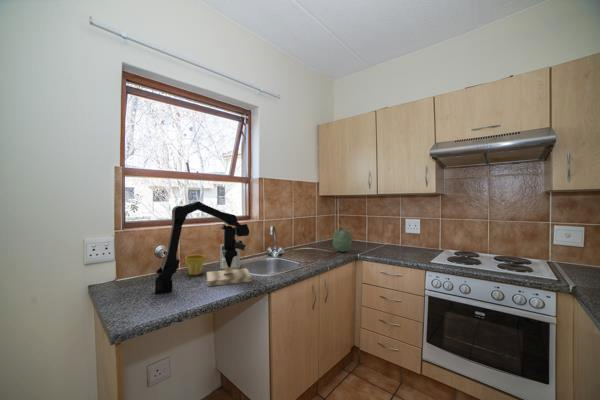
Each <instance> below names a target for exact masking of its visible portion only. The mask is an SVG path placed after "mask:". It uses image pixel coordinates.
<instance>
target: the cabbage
mask: <svg viewBox="0 0 600 400" xmlns="http://www.w3.org/2000/svg"><path fill="white" fill-rule="evenodd" d="M352 244H353V235H352V234H351V232H349V229H348V228H345V229H344V228H342V229H341V228H338V229H335V231H334V233H333V237H332V246H333V248H334V249H335V251H337V252H338V251H340V252H339V253H346V252H348V251H349V250H350V248H351V247H352ZM345 251H346V252H345Z"/></svg>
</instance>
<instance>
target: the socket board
mask: <svg viewBox="0 0 600 400" xmlns="http://www.w3.org/2000/svg"><path fill="white" fill-rule="evenodd" d="M249 281H250V282H253V275H252V273H250V271H249V270H248V268H246V267H245V268H238V269H234V270H233V271H227V272H226V270H223V269H222V270H214V271H207V272H206V285H207V287H212V286H222V285H231V284H232V285H233V284H241V283H248V282H249ZM250 282H249V283H250Z"/></svg>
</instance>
